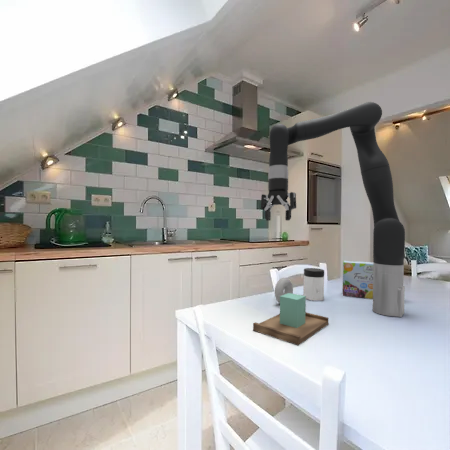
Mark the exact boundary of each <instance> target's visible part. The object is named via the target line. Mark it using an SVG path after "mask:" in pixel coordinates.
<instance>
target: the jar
mask: <svg viewBox="0 0 450 450" xmlns="http://www.w3.org/2000/svg"><path fill="white" fill-rule="evenodd" d="M302 293H303V295H302V296H306V300H309V301H315V302H316V301H324V297H325V295H324V293H325V270H324V269H323V268H315V267H307V268H304V269H303V291H302Z"/></svg>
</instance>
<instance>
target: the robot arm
mask: <svg viewBox="0 0 450 450" xmlns="http://www.w3.org/2000/svg"><path fill="white" fill-rule="evenodd" d="M382 116H383V110H382V106H380V105H379V104H378V103H376V102H374V101H373V102H372V101H366V102H363V103H360V104H357V105H354V106H352V107H350V108H348V109H344V110H341V111H338V112H334V113H332V114H331V113H330V114H329V115H325V116H324V115H323V116H320V117H316V118H311V119H308V120H302V121H298V122H296V123H295V124H294V125H293V126H290V127H287V126H286V124H285V125H284V124H283V123H276V124H274V125H273V126H272V127H271V129H270V131H269V151H270V152H269V159H268V160H269V162H268V164H269V166H268V176H267V179H268V183H267V185H268V187H267V189H268V194H261V199H260V209H261V210H263V211H264V214H265V216H264V219H265V220H266V221H269V222H270V221H271V219H272V218H271V217H272V216H271V212H272V211H271V209H272V208H273V207H274V206H278V205H282V206H283V207H284V208H285V217H284V218H285V221H290V220H291V219H292V211H293V210H294V209H297V197H296V196H297V193H296V192H292V191H290V192H288V191H289V168H288V167H289V165H288V164H289V160H288V159H289V157H288V148H289V145H293V144H296V143H298V142H303V141H304V142H305V141H308V140H313V139H318V138H321V137H323V136H327V135H328V134H330V133H333V132H335V131H338V130H339V131H340V130H342V129H345V128H349V129H350V134H351V135H352V138H353V142H354V144H355V147H356V152H357V157H358V162H359V168H360V174H361V179H362V182H363V187H364V191H365V193H366V197H367V199H368V201H369V204H370V207H371V212H372V217H373V218H372V219H373V232H372V233H373V235H372V236H373V238H372V239H373V243H372V244H373V245H372V246H373V247H372V248H373V249H372V250H373V251H372V255H373V256H372V258H373V259H372V262H373V299H372V311H373V312H374V313H376V314H379V315H383V316H387V317H397V318H398V317H399V318H402V317H403V315H404V314H405V302H406V301H405V296H406V295H405V291H406V290H405V289H406V288H405V287H406V286H405V285H404V281H405V280H404V277H405V275H404V273H405V272H404V271H405V269H404V268H405V266H404V265H405V251H406V250H405V248H406V246H405V245H406V243H405V242H406V231H405V230H406V229H405V226H404V225H403V223H402V222H400V218H399V215H398V212H397V210H396V206H395V201H394V200H395V199H394V195H395V194H394V182H393V177H392V176H393V175H392V170H391V168H390V167H391V166H390V163H389V160H388V159H387V158H388V157H387V156H386V155H385V154H384V153H383V151H382V150H381V148H380V146H379V145H378V142H377V137H376V130H375V129H376V128H375V127H376V125H377V124H379V121H380V120H381V119H382ZM288 198H289V201H288Z"/></svg>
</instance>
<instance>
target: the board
mask: <svg viewBox="0 0 450 450" xmlns="http://www.w3.org/2000/svg"><path fill="white" fill-rule="evenodd" d="M252 325H253V326H252V331H254V332H257V333H261V334H263V335H267V336H270V337H272V338H276V339H279V340H281V341H284V342H285V341H286V342H287V343H291V344H293V345H297V346H299V345H301V344H302V343H304V342H305V341H306V340H308V339H309V338H311V337H312V336H314V335H315V334H317V333H319V332H320V331H321V330H322V329H324V328H325V327H326V326H328V325H329V317H327V316H323V315H318V314H315V313H310V312H307V311H305V324H303V325H301V326H300V327H298V328H295V327H291V326H287V325H284V324H280V313H279V314H276V315H274V316H273V317H270V318H268V319H266V320H264V321H261V322H259V323H258V322H254V323H253V324H252Z"/></svg>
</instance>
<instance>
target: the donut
mask: <svg viewBox="0 0 450 450" xmlns="http://www.w3.org/2000/svg"><path fill="white" fill-rule="evenodd" d="M287 293H292V294H294V287H293V283H292V282H291V279H290V278H287V277H281V278H279V280H278V281H277V282H276V284H275V287H274V297H275V300H276V302H278V304H280V296H282V295H285V294H287Z"/></svg>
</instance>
